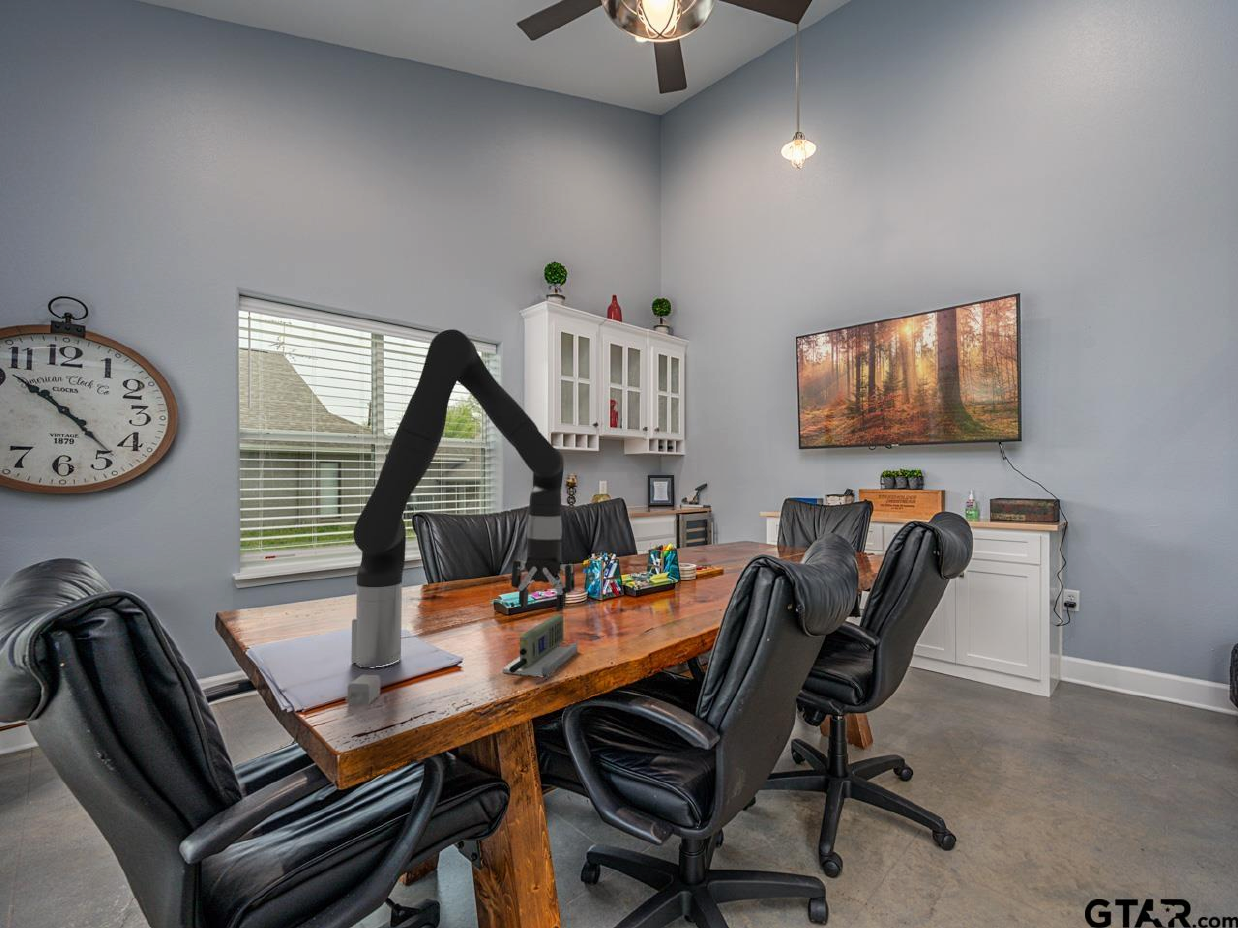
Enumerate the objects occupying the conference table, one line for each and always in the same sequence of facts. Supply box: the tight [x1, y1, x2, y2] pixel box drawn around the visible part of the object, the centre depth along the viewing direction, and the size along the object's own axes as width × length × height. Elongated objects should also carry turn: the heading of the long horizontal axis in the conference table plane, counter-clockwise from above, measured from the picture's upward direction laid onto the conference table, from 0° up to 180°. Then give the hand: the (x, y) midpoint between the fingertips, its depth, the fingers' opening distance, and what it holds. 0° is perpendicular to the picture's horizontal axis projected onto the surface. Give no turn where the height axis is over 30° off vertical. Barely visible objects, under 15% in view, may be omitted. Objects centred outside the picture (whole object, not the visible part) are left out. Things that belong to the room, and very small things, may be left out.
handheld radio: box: [509, 614, 565, 674], centre depth 131 cm, size 7×3×25 cm
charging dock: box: [502, 642, 579, 678], centre depth 130 cm, size 10×18×2 cm, turn 164°
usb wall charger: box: [345, 674, 381, 707], centre depth 106 cm, size 4×7×4 cm, turn 178°
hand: (541, 608), depth 130 cm, fingers open, 8 cm apart
